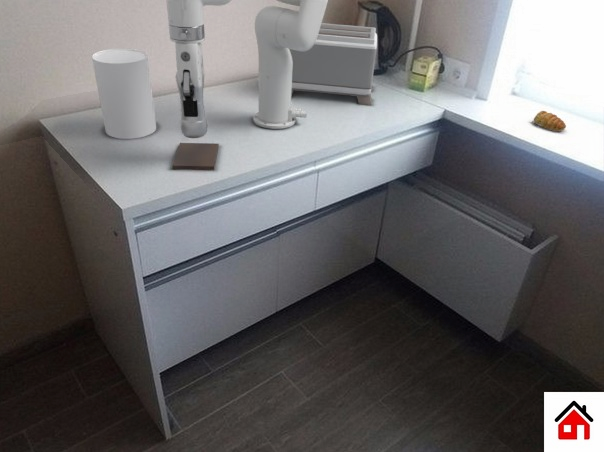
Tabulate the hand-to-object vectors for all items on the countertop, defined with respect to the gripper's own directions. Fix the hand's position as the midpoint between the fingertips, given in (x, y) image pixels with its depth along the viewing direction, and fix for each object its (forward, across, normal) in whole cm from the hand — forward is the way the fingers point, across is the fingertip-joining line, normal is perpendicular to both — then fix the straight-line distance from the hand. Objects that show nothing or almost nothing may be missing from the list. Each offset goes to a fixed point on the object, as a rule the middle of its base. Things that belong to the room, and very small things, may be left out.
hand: (192, 110), depth 118 cm
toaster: (+12, +53, -37) cm, 66 cm away
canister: (+13, +17, +20) cm, 29 cm away
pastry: (+12, +27, -106) cm, 110 cm away
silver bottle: (+7, 0, 0) cm, 7 cm away
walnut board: (+12, 0, 0) cm, 12 cm away
